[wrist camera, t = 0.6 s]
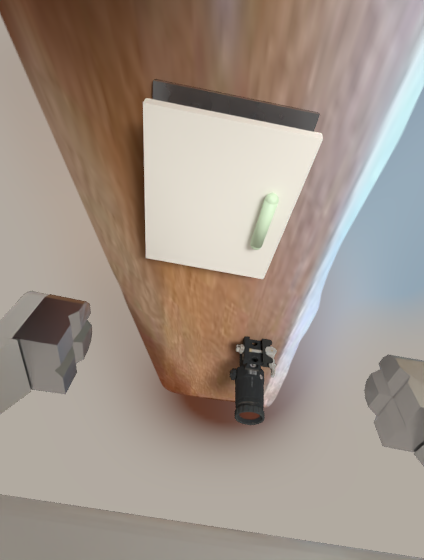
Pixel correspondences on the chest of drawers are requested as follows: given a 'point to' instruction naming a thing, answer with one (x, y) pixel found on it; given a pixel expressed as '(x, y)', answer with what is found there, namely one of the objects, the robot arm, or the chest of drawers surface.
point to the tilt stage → (220, 186)
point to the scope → (252, 379)
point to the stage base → (234, 105)
